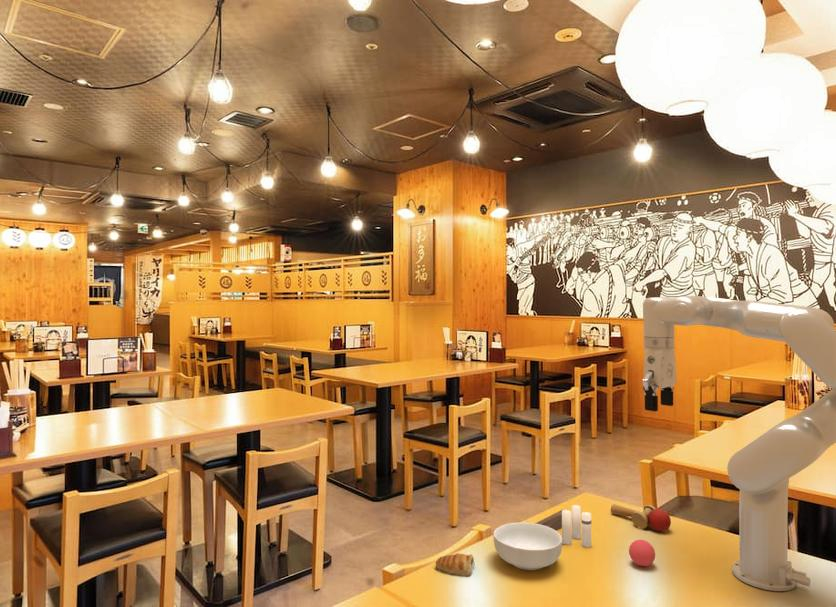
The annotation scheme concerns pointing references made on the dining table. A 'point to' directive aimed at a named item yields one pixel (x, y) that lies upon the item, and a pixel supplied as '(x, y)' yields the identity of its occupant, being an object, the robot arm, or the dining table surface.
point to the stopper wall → (552, 521)
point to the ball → (642, 552)
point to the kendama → (645, 517)
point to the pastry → (456, 564)
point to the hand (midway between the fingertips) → (659, 407)
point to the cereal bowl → (528, 545)
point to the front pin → (586, 529)
